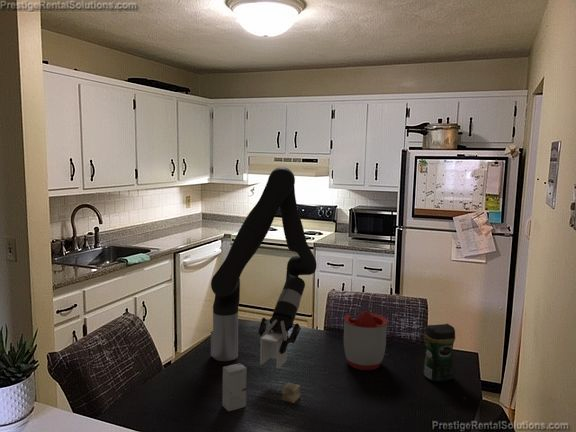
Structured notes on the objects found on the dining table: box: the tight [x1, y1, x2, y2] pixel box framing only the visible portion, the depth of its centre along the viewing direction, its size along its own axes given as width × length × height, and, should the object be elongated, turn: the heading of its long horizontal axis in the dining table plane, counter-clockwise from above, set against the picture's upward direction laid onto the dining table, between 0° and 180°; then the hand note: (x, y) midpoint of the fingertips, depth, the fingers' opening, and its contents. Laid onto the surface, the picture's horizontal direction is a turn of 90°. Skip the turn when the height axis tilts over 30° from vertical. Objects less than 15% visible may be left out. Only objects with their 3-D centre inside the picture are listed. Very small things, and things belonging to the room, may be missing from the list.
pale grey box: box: [259, 332, 288, 369], centre depth 153 cm, size 6×6×9 cm
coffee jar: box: [423, 323, 456, 382], centre depth 161 cm, size 10×8×19 cm
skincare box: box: [222, 362, 247, 412], centre depth 140 cm, size 6×4×12 cm
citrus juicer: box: [343, 310, 389, 371], centre depth 170 cm, size 16×17×20 cm
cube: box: [282, 382, 301, 404], centre depth 145 cm, size 4×4×4 cm
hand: (271, 350), depth 152 cm, fingers closed on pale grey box, 6 cm apart
